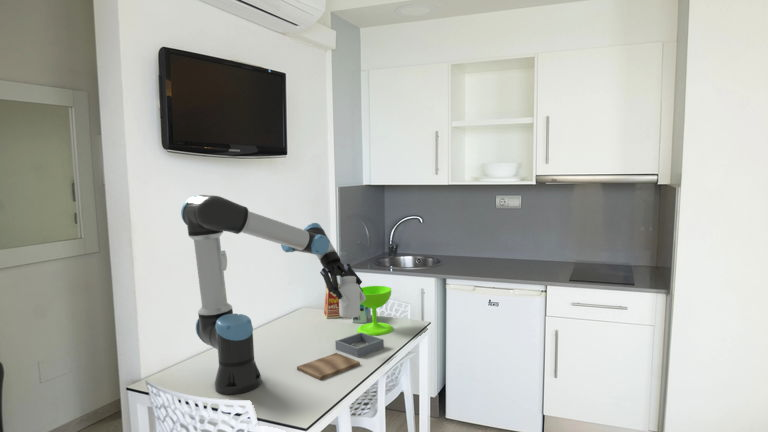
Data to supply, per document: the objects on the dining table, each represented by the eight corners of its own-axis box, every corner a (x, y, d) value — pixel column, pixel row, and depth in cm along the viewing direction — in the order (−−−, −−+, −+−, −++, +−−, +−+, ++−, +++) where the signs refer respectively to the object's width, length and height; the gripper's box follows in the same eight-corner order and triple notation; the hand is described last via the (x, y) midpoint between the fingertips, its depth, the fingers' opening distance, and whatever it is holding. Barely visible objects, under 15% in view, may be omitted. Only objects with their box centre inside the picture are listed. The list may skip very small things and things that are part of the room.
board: (319, 380, 177) (319, 376, 177) (297, 369, 187) (296, 366, 187) (359, 364, 189) (359, 361, 189) (336, 355, 199) (336, 352, 199)
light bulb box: (366, 323, 239) (365, 300, 238) (352, 323, 240) (350, 300, 239) (371, 316, 249) (370, 294, 248) (357, 316, 251) (356, 294, 250)
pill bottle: (363, 316, 197) (362, 278, 196) (343, 319, 194) (342, 280, 193) (356, 311, 204) (355, 274, 203) (337, 314, 201) (335, 276, 200)
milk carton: (323, 314, 257) (321, 274, 255) (341, 312, 259) (339, 272, 257) (327, 319, 248) (324, 278, 246) (345, 316, 251) (343, 276, 249)
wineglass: (397, 325, 234) (395, 286, 232) (386, 336, 219) (385, 295, 217) (364, 323, 239) (362, 285, 237) (351, 334, 224) (349, 293, 222)
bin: (357, 357, 196) (357, 348, 196) (335, 349, 206) (335, 340, 206) (383, 347, 206) (383, 339, 205) (361, 340, 216) (361, 332, 215)
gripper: (344, 258, 216) (371, 303, 205) (302, 265, 201) (329, 313, 191) (352, 247, 211) (379, 292, 201) (310, 253, 197) (338, 302, 187)
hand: (355, 302), depth 196 cm, fingers closed on pill bottle, 8 cm apart
